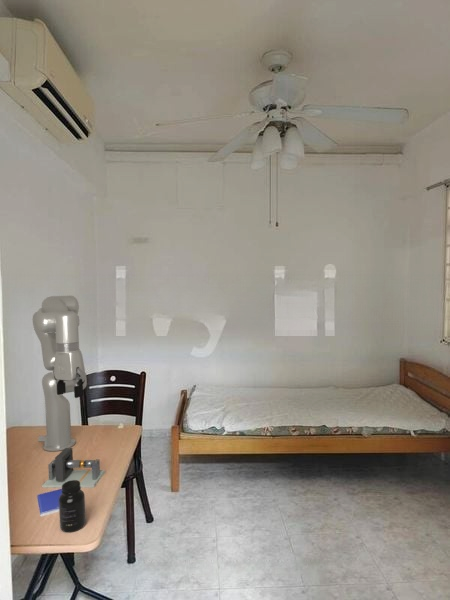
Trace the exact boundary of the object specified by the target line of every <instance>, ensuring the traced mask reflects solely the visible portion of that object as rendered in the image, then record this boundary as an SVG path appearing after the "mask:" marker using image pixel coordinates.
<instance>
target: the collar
mask: <svg viewBox="0 0 450 600" xmlns="http://www.w3.org/2000/svg"><path fill="white" fill-rule="evenodd" d="M54 460H55V468H56V481H64V480H65V478H66V477H67V476H68V475H69V474H70V473H71V472H72V471H73V470H74V468H65V461H64V460H74V456H73V447H70V448H65V449H64V450H61V451H60V452H59V453H58V454H57V455H56V456H55V457H54Z"/></svg>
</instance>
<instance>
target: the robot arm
mask: <svg viewBox="0 0 450 600" xmlns="http://www.w3.org/2000/svg"><path fill="white" fill-rule="evenodd" d="M79 309H80V305H79V301H78V299H77V298H76V297H75V296H73V295H52V296H47V297H45V299H43V300H42V302H41V307H40V308H39V309H38V310H37V311H36V312H34V313H33V314H32V326H33V330H34V332H35V334H36V336H37V338H38V340H39V342H40V347H41V355H42V356H41V357H42V362H43V363H42V364H43V367H44V369H45V370H47V371H49V372H48V373H46V374H44V375H43V376H42V379H41V384H42V385H41V386H42V390H43V395H44V396H43V397H44V404H45V405H44V408H45V423H46V424H45V425H46V426H45V427H46V428H45V429H46V430H45V431H46V435H39V436H38V442H39V443H42V442H43V443H44V444H43V445H42V448H43V450H45V451H48V452H59V451H60V452H61V451H63V450H64V449H65V448H73V447H74V445H75V444H76V439H75V438H73V437H72V428H71V425H72V424H71V403H70V401H69V399H67V397H66V396H65V395H64V394H67V393H73V392H74V398H75V399H77V398H81V397H83V396H84V390H85V389H86V387H87V385H88V383H87V373H86V369H85V363H84V358H83V354H82V351H81V349H80V337H79V336H80V334H79V326H80V317H79V315H78V314H79Z"/></svg>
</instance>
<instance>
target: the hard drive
mask: <svg viewBox="0 0 450 600" xmlns="http://www.w3.org/2000/svg"><path fill="white" fill-rule="evenodd" d="M61 494H62V488H59V489H55V490H50V491H47V492H43V493H39V494H37V495H36V498H37V505H38V510H39V515H40V517H45V516H48V515H51V514H55V513H59V497H60V495H61Z"/></svg>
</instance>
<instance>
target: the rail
mask: <svg viewBox="0 0 450 600" xmlns="http://www.w3.org/2000/svg"><path fill="white" fill-rule="evenodd" d="M64 461H65V468H73V469H90V468H91V470H92V480H96V479H97V478H98V477H99V475H100V470H101V464H100V463H101V462H100V459H98V458H97V459H73V460H64ZM47 465H48V467H47V469H48V479H49V480H53V479H54V478H55V477H56V468H55V459H52V461H51V462H50V463H48V464H47Z"/></svg>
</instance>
